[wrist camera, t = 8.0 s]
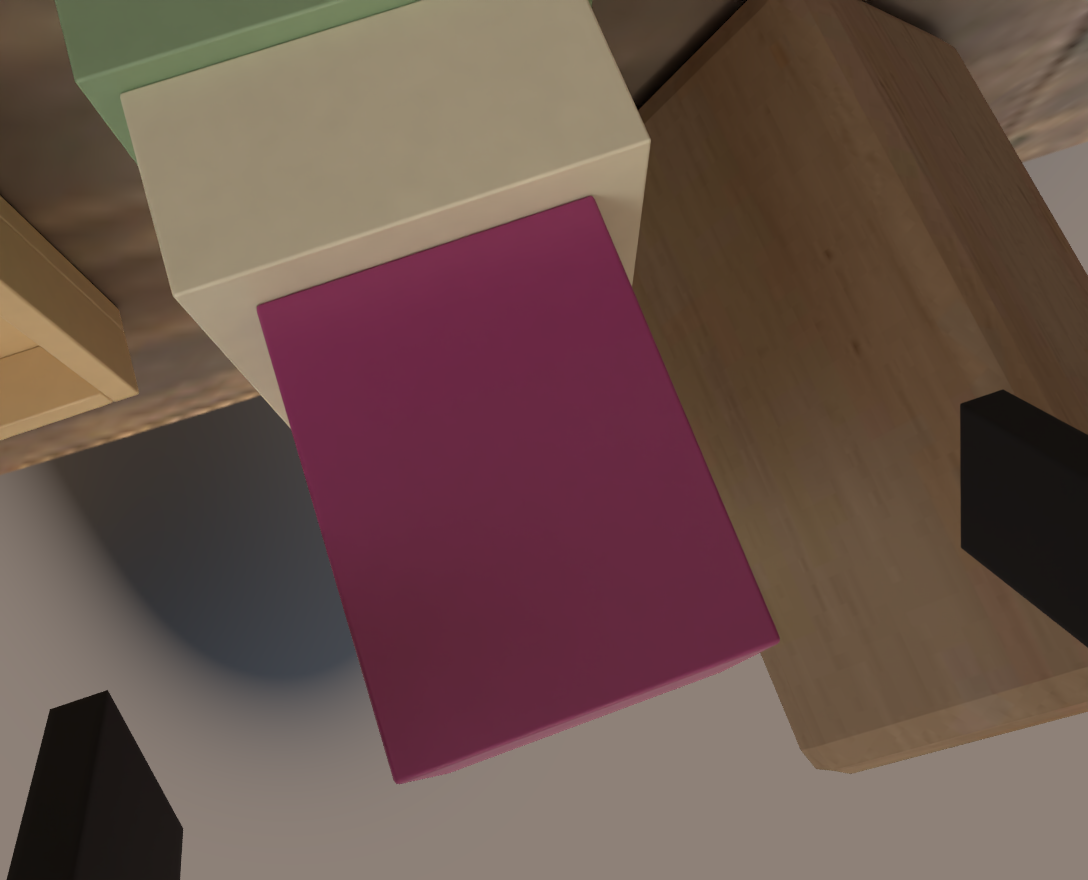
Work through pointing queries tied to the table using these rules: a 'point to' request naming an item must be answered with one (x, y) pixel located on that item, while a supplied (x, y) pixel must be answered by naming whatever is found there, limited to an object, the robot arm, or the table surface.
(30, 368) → the tray
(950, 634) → the wooden block
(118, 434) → the table surface
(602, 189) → the cream block
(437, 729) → the mulberry block
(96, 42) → the sage block
